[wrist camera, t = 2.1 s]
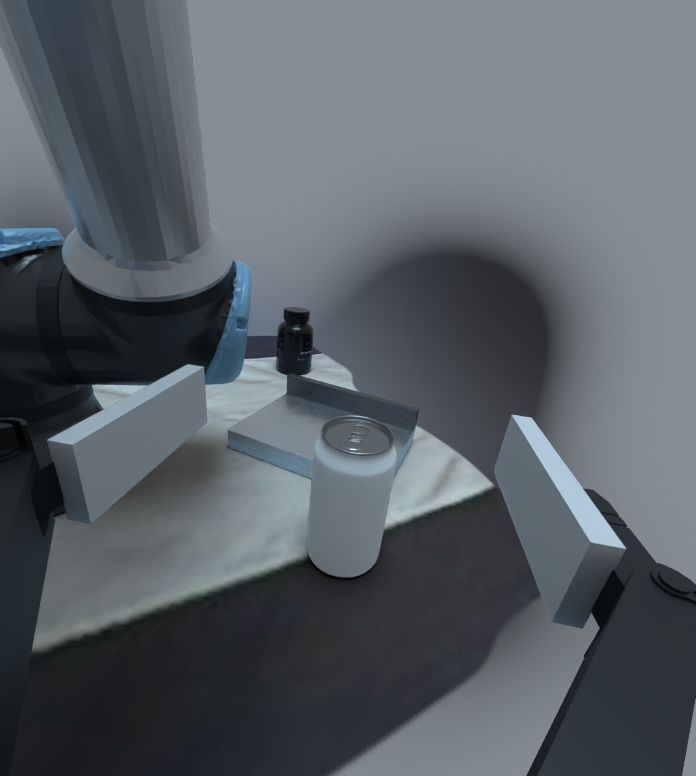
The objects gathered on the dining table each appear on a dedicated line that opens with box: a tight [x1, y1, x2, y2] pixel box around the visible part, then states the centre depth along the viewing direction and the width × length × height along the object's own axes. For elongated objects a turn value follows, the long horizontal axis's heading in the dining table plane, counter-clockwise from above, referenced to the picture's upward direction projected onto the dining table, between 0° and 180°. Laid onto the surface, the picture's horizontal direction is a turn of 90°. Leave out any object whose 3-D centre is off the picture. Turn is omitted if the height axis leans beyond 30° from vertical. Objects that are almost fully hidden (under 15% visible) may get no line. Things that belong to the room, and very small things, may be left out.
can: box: [307, 415, 397, 577], centre depth 29 cm, size 6×6×12 cm
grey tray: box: [228, 374, 419, 479], centre depth 45 cm, size 20×14×6 cm
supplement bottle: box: [276, 307, 314, 375], centre depth 68 cm, size 7×7×12 cm
